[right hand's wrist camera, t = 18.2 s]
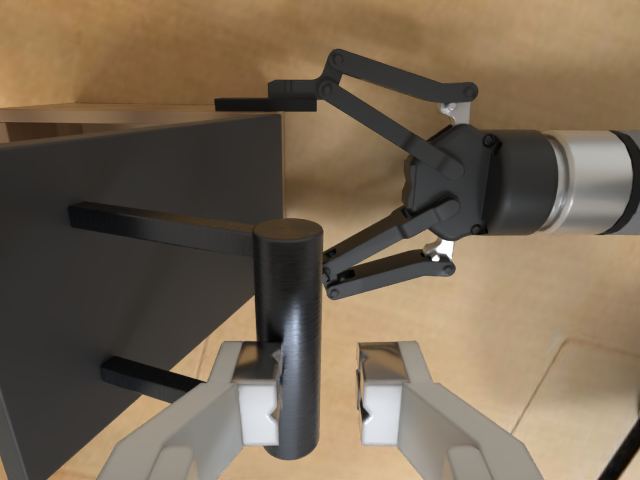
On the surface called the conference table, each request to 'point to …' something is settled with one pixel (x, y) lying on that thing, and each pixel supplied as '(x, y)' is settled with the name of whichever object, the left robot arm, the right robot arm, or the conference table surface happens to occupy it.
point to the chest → (109, 120)
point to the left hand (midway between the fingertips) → (225, 184)
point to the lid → (145, 277)
